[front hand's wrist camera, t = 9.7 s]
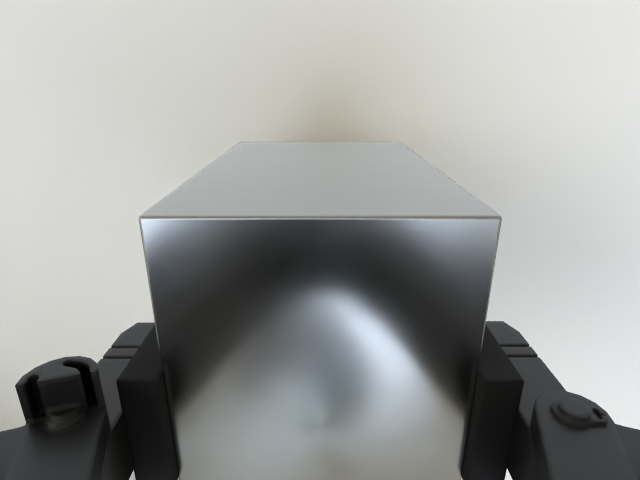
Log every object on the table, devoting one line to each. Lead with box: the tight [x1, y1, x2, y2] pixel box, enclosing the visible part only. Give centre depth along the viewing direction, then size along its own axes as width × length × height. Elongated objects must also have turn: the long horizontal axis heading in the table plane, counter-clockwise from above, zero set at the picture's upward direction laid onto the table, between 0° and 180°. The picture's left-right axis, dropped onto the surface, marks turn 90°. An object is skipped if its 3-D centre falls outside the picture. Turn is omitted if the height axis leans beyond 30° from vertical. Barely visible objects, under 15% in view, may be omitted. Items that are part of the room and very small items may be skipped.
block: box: [139, 142, 502, 480], centre depth 13 cm, size 6×9×10 cm
